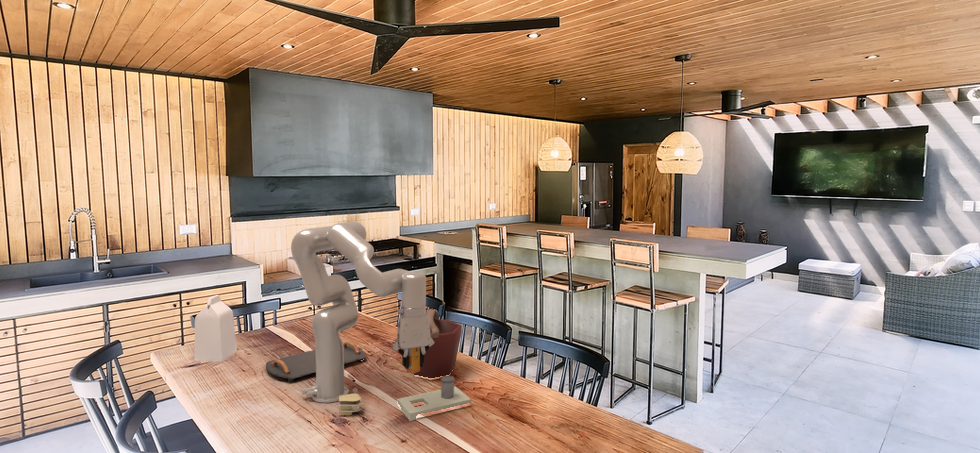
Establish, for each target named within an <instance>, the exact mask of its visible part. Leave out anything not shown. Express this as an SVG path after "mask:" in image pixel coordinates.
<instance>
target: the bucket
mask: <svg viewBox="0 0 980 453" xmlns="http://www.w3.org/2000/svg"><path fill="white" fill-rule="evenodd" d="M426 314H427V315H428V317H429V323H430V335H431V338H432V339H433V341H434V344H433V345H432V346H430V347H429V349H428V350H427V351H426V353H425V354H424V363H423V367H420V371H419V372H416V373H414V375H419V376H423V377H428V378H435V377H440V376H446V375H449V374H450V373H451V372H452V370H453V369H454V370H455V367H456V362H457V356H458V352H459V346H460V342H461V337H462V330H463V328H462V324H459V323H457V322H455V321H452V320H449V319H439V312H438V310H437V309H428V311H426ZM452 373H453V372H452ZM414 375H413V376H414Z"/></svg>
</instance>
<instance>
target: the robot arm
mask: <svg viewBox="0 0 980 453" xmlns="http://www.w3.org/2000/svg"><path fill="white" fill-rule="evenodd" d="M366 239H367V231H366V228H365V227H364V226H363V224H361V223H359V222H357V221H346V222H338V223H336V224H332V225H330V226H320V227H319V226H317V227H312V228H305V229H302V230H300V231H299V232H296V234H295V235H294V236H293V238H292V241H291V245H290V250H291V255H292V258H293V260H294V262H295V264H296V266H297V268H298V271H299V273H300V277H301V280H302V283H303V286H304V290H305V293H306V296H307V298H308V301H309V303H310V304H311V305H313V306H316V307H320V306H324V305H328V304H330V303H332V306H329V307H326V308H322V309H320V310H318V311H317V312H316V313H315V314H314V315H313V317H312V320H311V328H312V329H311V330H312V332H313V336H314V337H313V338H314V347H315V348H314V350H315V354H316V372H315V382H314V383H313V385H311V386H309V387H304V388H301V393H302V394H301V395H305V394H306V396H311V399H312V400H313V401H314V402H318V403H326V404H327V403H329V404H330V403H334V402H335V403H336V402H339V396H341V395H347V394H350V390H349V388H348V387H347V386H345V364H344V346H343V344H344V342H343V340H342V338H341V336H340V333H341V332H343V331H345V330H348V329H351V328H352V327H354V326H355V325H356V324H357V323H358V321H359V311H358V308H357V304H356V301H355V298H354V295H353V291H352V288H351V286H350V283H349V281H348V280H347V279H346V278H345V277H344V276H342V275H341V274H332V275H329V274H328V271H327V268H326V266H325V264H324V262H323V260H321V257H319V256H318V255H317V252H324V251H325V252H326V251H329V250H330V251H331V250H337V251H338V252H339V254H341V255H342V256H344V257H345V258H346V259H347V260H348V261H350V263H352V264H353V265H354V270H355V273H356V276H357V277H358V280H359V281H360V282H361V284H362V285H363V286H364V287H365V288H367V290H369V291H370V292H371V293H373V294H374V295H376V296H378V297H381V298H383V297H385V298H386V297H389V296H392V295H394V294H398V293H401V307H400V308H399V309H397V314H400V315H399V319H398V324H397V334H396V339H395V341H394V343H393V344H392V345H391V348H392V350H394V351H395V352H397V353H399V354H400V355H401V356H402V357H401V358H402V359H401V360H402V362H401V363H402V364H401V365H402V366H403V367H404V369H406V370H407V369H408V368H409V357H408V355H407V354H408V349H410V348H417V347H420V367H423V363H424V354H425V353H426V351H427V350H428V349H429V347H430V346H432V345H433V344H434V341H433V339H432V338H431V335H430V323H429V317H428V315H427V310H426V308H427V306H426V305H427V298H426V297H427V276H426V275H425V274H424V272H420V271H419V272H416V271H409V270H406V269H403V268H396V269H392V270H388V271H383V272H382V271H381V270H379V269H378V268H377V267H376V266H374V265H373V263H372V262H371V259H372V258H373V255H374V252H375V248H374V246H373V245H372V244H371V243H370V242H368V241H367V240H366Z"/></svg>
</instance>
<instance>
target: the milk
mask: <svg viewBox="0 0 980 453" xmlns="http://www.w3.org/2000/svg"><path fill="white" fill-rule="evenodd" d="M237 348H238V347H237V339H236V328H235V317H234V311H233V310H232V308H230V306H228V305H227V304H226V303H224V302H223V301H222V299H221V296H220V295H219V294H216V295H213V296H210V297H208V298H207V304H205V305H204V306H203V308H202V309H201V310H200V312H198V313H197V314H196V316H195V317H194V362H212V363H213V362H217V363H218V362H220V363H222V362H224V361H225V360H227V359H228V358H230V357H231V356H233V355H234V354H235V353H237V352H238V349H237Z"/></svg>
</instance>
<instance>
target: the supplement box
mask: <svg viewBox="0 0 980 453" xmlns="http://www.w3.org/2000/svg"><path fill="white" fill-rule="evenodd" d="M407 355H408V357H409V368H408V369H406V372H408V373H409V374H412V375H413V374H414V373H416V372H419V371H420V347H417V348H410V349H408V354H407Z"/></svg>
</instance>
